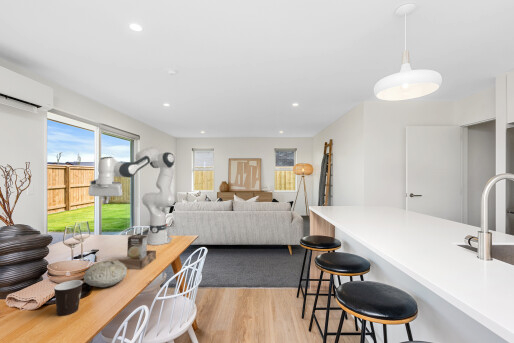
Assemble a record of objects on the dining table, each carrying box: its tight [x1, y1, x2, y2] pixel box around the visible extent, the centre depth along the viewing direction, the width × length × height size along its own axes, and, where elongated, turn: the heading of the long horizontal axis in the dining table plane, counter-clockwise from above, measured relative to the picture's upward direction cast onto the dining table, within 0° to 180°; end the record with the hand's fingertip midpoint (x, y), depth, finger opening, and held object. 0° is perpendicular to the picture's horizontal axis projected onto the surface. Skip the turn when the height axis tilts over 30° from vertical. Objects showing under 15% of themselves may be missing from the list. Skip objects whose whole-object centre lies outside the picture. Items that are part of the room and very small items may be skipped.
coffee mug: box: [53, 279, 84, 317], centre depth 92 cm, size 12×9×10 cm
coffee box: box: [126, 234, 148, 260], centre depth 147 cm, size 9×6×16 cm
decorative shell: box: [83, 259, 128, 288], centre depth 118 cm, size 18×18×10 cm
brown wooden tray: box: [117, 250, 157, 270], centre depth 146 cm, size 18×19×6 cm
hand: (105, 203), depth 158 cm, fingers closed
